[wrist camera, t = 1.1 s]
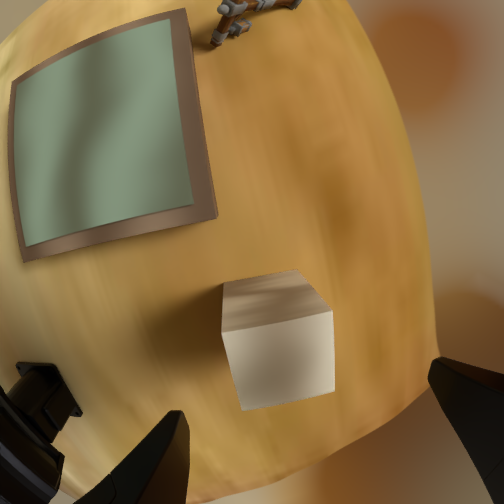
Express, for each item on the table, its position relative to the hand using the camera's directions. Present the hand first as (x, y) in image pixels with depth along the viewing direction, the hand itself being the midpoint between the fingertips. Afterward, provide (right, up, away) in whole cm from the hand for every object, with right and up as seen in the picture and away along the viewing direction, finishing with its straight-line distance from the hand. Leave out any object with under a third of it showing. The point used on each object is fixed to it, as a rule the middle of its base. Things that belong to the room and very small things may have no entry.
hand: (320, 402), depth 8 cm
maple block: (-1, +1, +11) cm, 11 cm away
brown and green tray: (-12, +13, +8) cm, 19 cm away
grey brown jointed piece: (-2, +22, +7) cm, 23 cm away
